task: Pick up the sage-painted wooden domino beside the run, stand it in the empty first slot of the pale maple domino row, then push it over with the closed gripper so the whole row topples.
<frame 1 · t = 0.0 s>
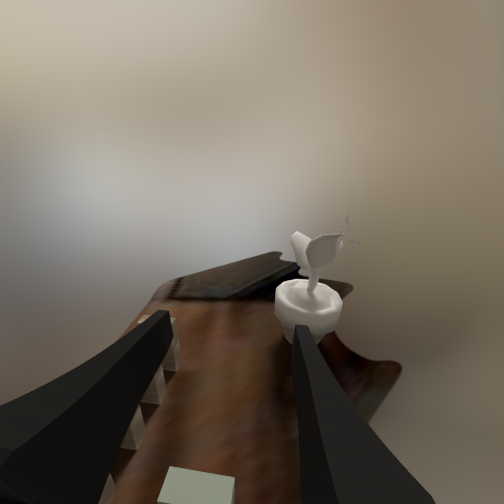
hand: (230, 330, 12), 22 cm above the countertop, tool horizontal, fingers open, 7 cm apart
domino 3: (122, 437, 25), on the countertop
domino 4: (146, 395, 29), on the countertop
domino 2: (86, 499, 20), on the countertop
domino 5: (164, 364, 34), on the countertop
potted plant: (300, 336, 41), on the countertop
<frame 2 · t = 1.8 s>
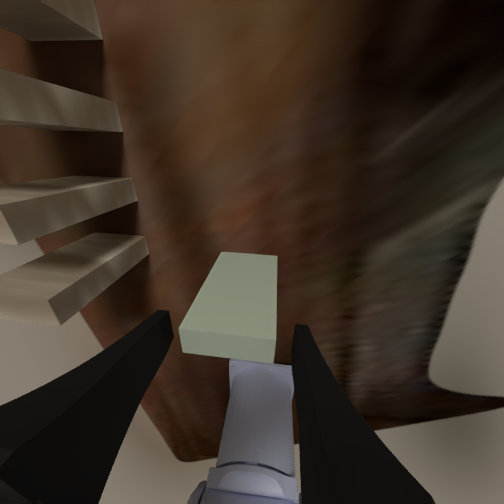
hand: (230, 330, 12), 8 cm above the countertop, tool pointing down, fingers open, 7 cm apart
domino 3: (107, 188, 17), on the countertop
domino 4: (87, 116, 15), on the countertop
domino 2: (122, 243, 20), on the countertop
domino 5: (61, 20, 13), on the countertop
domino 1: (248, 262, 19), on the countertop
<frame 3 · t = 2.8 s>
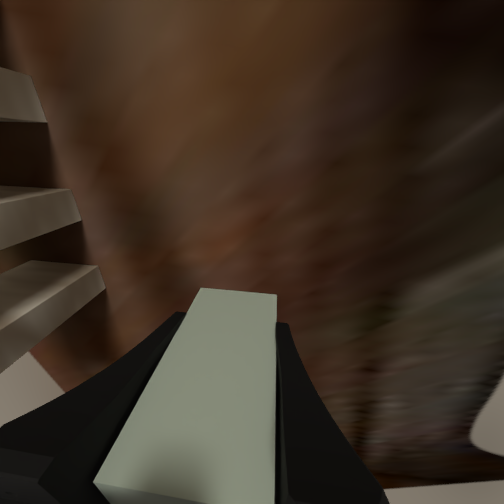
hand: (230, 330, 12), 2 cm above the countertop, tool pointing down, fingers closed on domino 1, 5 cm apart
domino 3: (37, 202, 12), on the countertop
domino 2: (68, 274, 15), on the countertop
domino 1: (238, 302, 14), on the countertop, touching gripper
when the fingers open (3 cm above the countertop, at t = 6.9 s): domino 1 stays where it is, on the countertop.
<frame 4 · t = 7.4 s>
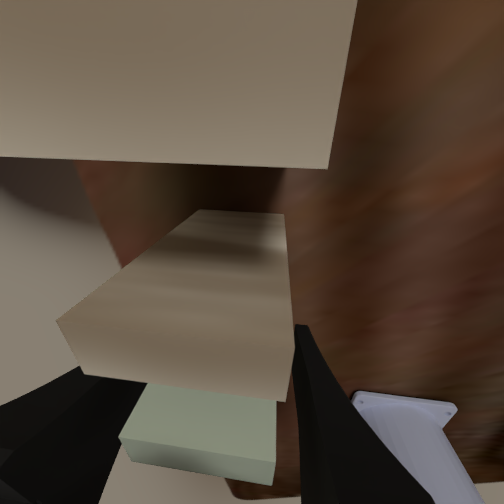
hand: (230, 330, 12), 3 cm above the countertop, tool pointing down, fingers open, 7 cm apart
domino 3: (241, 130, 10), on the countertop
domino 2: (240, 226, 13), on the countertop
domino 1: (240, 291, 15), on the countertop
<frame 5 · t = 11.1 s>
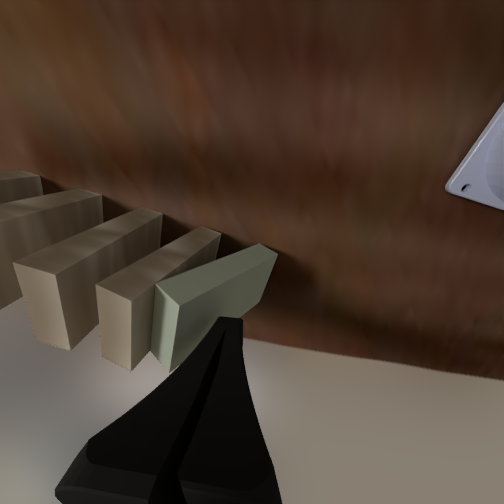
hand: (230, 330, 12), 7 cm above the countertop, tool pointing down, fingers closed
domino 3: (150, 237, 18), on the countertop
domino 4: (93, 220, 18), on the countertop
domino 2: (206, 255, 18), on the countertop, tilted 10°
domino 5: (35, 202, 17), on the countertop
domino 1: (259, 273, 18), on the countertop, tilted 30°
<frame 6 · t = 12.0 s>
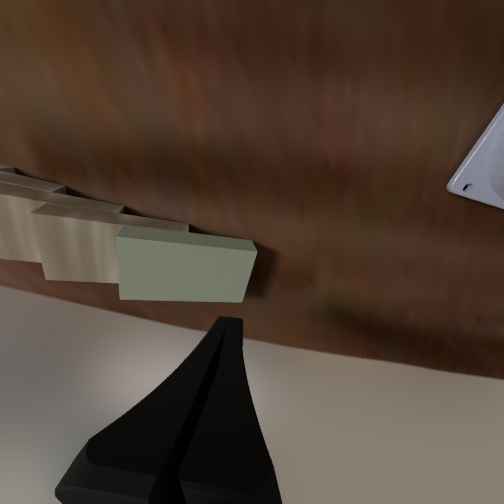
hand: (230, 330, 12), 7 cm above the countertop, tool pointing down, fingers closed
domino 3: (120, 238, 17), point 1 cm above the countertop, tilted 69°, touching domino 2, domino 4
domino 4: (62, 218, 17), point 1 cm above the countertop, tilted 73°, touching domino 3
domino 2: (184, 255, 17), point 1 cm above the countertop, tilted 69°, touching domino 1, domino 3
domino 1: (246, 272, 17), point 1 cm above the countertop, tilted 70°, touching domino 2
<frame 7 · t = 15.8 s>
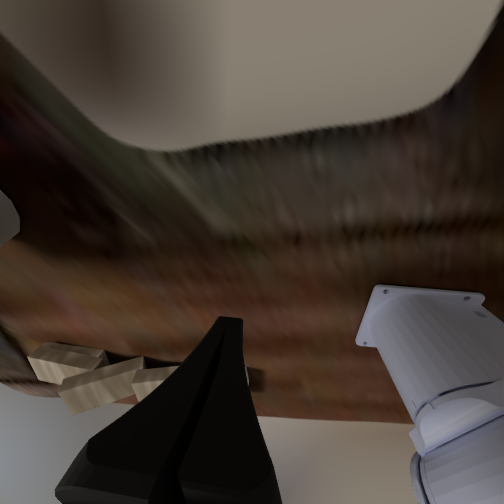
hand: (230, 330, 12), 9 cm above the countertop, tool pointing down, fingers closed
domino 3: (146, 372, 30), point 1 cm above the countertop, tilted 61°, touching domino 2
domino 4: (101, 375, 29), point 2 cm above the countertop, tilted 90°
domino 2: (206, 380, 29), point 1 cm above the countertop, tilted 77°, touching domino 1, domino 3
domino 5: (107, 362, 31), on the countertop, tilted 90°
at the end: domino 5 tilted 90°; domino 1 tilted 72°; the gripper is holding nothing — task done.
